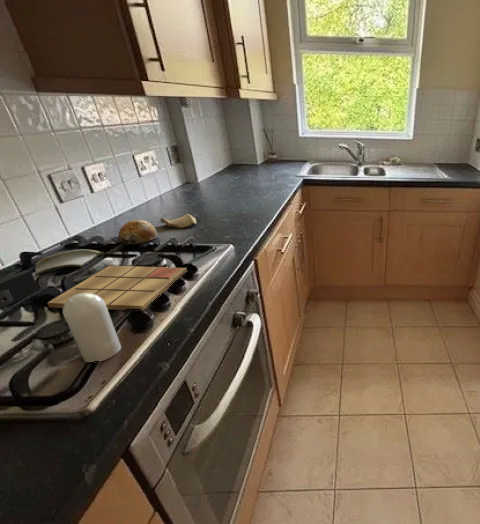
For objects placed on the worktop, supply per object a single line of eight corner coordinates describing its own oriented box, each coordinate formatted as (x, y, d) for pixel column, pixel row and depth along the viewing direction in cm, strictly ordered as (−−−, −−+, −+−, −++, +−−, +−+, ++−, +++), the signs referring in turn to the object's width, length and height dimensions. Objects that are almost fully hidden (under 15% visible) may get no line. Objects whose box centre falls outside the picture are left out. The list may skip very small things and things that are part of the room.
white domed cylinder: (74, 362, 56) (47, 303, 51) (98, 341, 61) (76, 286, 56) (106, 363, 56) (82, 304, 51) (128, 342, 61) (108, 287, 56)
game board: (49, 307, 70) (46, 302, 69) (110, 269, 86) (109, 265, 86) (143, 310, 70) (142, 305, 69) (187, 271, 86) (186, 267, 86)
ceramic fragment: (101, 255, 94) (96, 242, 92) (107, 260, 91) (102, 247, 89) (35, 273, 84) (28, 259, 82) (40, 279, 81) (33, 265, 79)
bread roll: (161, 249, 107) (166, 225, 107) (126, 246, 98) (132, 220, 97) (144, 243, 111) (149, 220, 111) (109, 239, 102) (115, 214, 102)
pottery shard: (188, 222, 125) (158, 221, 118) (189, 210, 124) (159, 209, 117) (199, 231, 119) (167, 230, 112) (200, 219, 118) (168, 218, 110)
